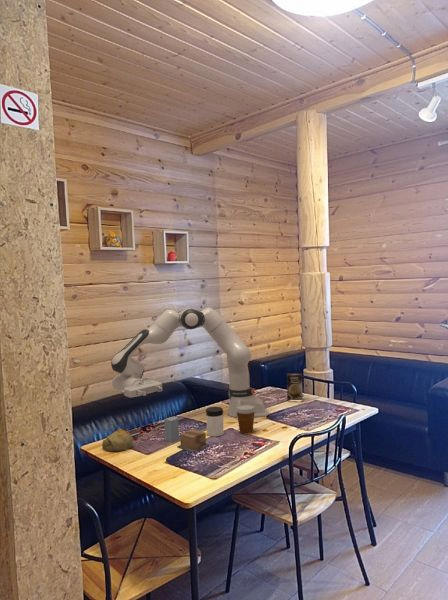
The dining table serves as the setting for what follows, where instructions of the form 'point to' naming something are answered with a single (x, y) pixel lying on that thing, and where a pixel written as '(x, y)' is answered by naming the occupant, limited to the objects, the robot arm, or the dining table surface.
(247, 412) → the disposable coffee cup
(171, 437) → the pillar
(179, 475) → the dining table surface
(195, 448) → the plinth
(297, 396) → the coffee box
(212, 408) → the jar
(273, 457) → the dining table surface
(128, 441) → the olive brown rounded lump
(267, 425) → the dining table surface
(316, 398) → the dining table surface
